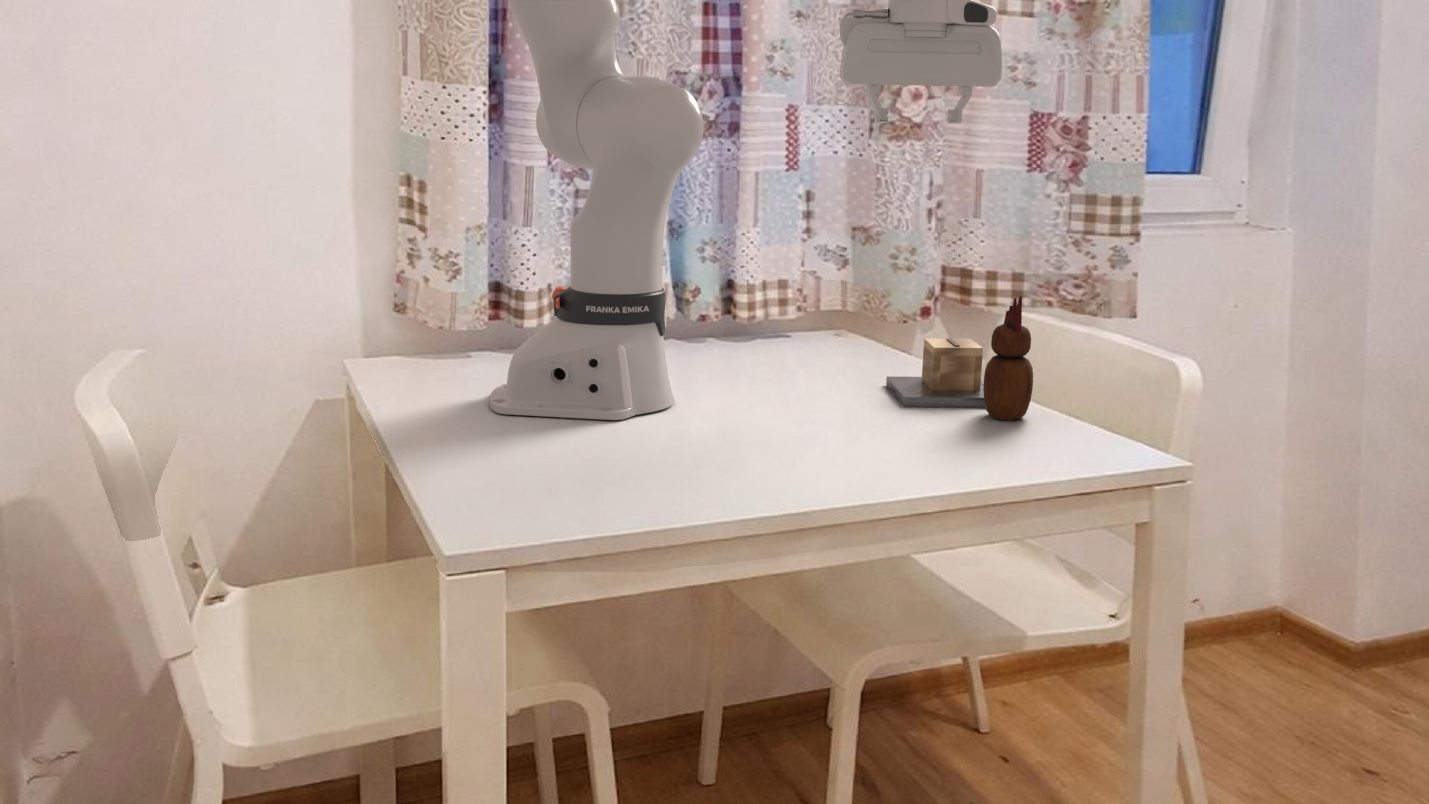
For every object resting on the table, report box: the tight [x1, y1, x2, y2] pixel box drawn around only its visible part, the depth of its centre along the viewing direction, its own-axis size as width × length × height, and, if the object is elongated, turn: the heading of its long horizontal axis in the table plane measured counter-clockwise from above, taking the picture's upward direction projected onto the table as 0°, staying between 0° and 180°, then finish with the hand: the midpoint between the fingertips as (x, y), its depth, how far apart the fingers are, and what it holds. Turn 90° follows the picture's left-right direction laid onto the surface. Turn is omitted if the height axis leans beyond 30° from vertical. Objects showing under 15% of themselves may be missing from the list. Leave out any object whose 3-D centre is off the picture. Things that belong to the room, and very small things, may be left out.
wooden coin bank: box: [921, 337, 984, 391], centre depth 170 cm, size 6×6×6 cm
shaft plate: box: [885, 376, 986, 408], centre depth 169 cm, size 12×12×5 cm
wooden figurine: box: [983, 295, 1034, 421], centre depth 157 cm, size 7×6×15 cm
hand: (917, 122), depth 168 cm, fingers open, 8 cm apart
